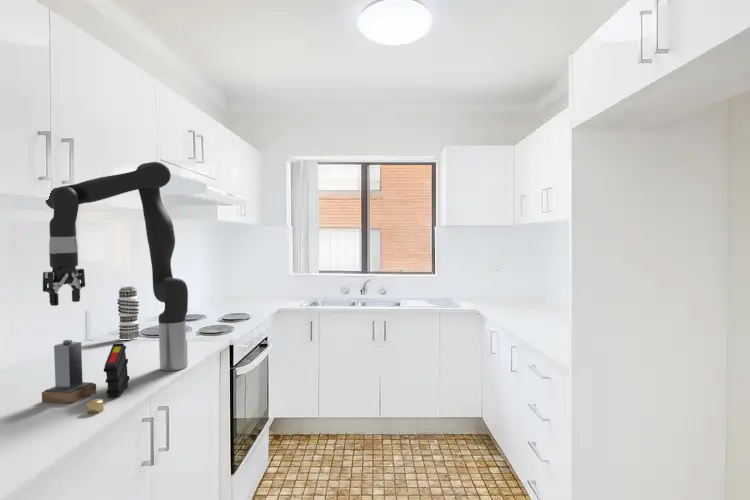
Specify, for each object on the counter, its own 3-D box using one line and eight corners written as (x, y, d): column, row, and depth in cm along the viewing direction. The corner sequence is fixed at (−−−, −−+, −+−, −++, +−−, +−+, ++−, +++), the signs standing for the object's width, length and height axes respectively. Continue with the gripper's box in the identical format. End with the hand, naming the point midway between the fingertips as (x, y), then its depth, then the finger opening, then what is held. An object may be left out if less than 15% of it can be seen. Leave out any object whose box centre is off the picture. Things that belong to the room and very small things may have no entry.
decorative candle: (115, 339, 242) (113, 287, 241) (134, 336, 249) (133, 285, 248) (123, 342, 236) (121, 288, 235) (143, 338, 243) (141, 286, 242)
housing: (68, 383, 157) (66, 338, 157) (82, 384, 157) (81, 339, 156) (55, 388, 153) (53, 342, 152) (70, 389, 152) (68, 342, 151)
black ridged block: (131, 379, 167) (125, 342, 161) (122, 408, 156) (114, 370, 149) (119, 380, 167) (112, 343, 160) (109, 409, 155) (101, 370, 148)
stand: (68, 391, 160) (67, 381, 160) (96, 393, 159) (95, 382, 158) (42, 402, 150) (41, 390, 150) (71, 403, 149) (71, 392, 149)
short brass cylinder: (94, 409, 144) (94, 398, 144) (106, 409, 143) (106, 399, 143) (83, 414, 140) (83, 403, 140) (96, 414, 139) (96, 404, 139)
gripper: (70, 250, 166) (72, 300, 166) (33, 252, 152) (35, 306, 152) (91, 250, 164) (92, 300, 165) (55, 252, 150) (57, 307, 151)
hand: (65, 303), depth 158 cm, fingers open, 8 cm apart
